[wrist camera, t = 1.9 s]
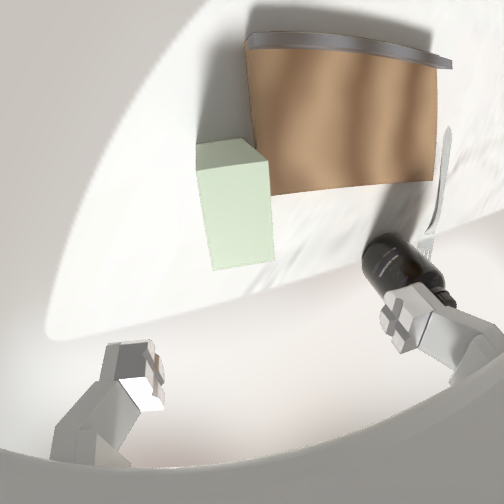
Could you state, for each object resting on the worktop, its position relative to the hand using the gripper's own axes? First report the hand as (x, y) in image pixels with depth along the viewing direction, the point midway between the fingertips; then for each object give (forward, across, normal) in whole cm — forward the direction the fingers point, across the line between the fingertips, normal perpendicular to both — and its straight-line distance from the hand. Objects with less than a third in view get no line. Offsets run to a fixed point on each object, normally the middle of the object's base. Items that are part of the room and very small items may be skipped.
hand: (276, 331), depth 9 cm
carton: (+19, 0, 0) cm, 19 cm away
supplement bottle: (+19, -18, +12) cm, 29 cm away
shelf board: (+19, -13, -5) cm, 24 cm away
